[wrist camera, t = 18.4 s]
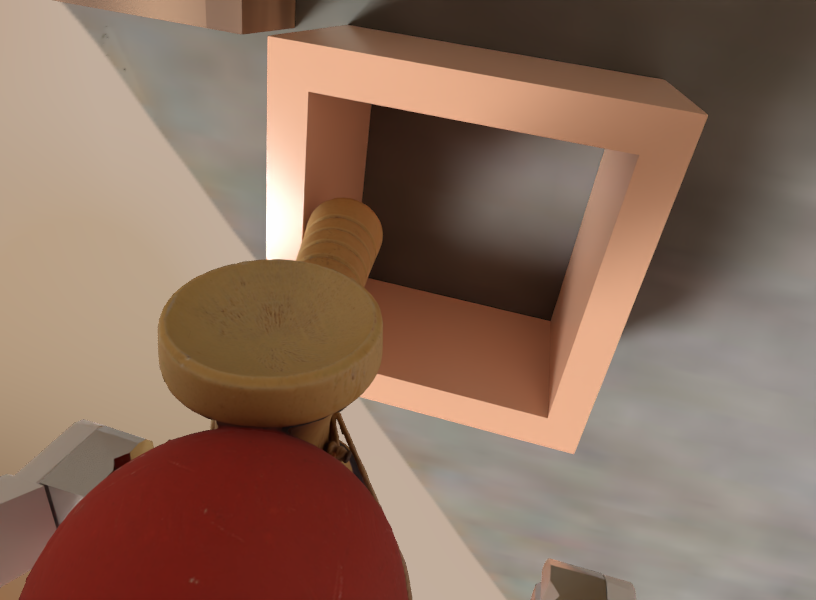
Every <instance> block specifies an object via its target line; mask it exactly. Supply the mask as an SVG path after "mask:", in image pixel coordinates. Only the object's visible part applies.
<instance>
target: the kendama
mask: <svg viewBox="0 0 816 600" xmlns="http://www.w3.org/2000/svg"><path fill="white" fill-rule="evenodd" d="M382 240H383V231H382V226H381V223H380V221H379V219H378V217H377V216H376V215H375V213H374V212H373V211H372V210H371V209H370V208H369V207H368V206H367V205H365V204H363V203H361V202H359V201H358V200H355V199H351V198H334V199H331V200H328V201H325V202H323V203H321V204H320V205H319V206H318V207H317V208H315V210H314V211H313V212H312V214H311V216H310V218H309V220H308V223H307V227H306V230H305V234H304V238H303V241H302V244H301V247H300V250H299V252H298V255H297V258H296V261H294V260H284V259H272V260H255V261H246V262H241V263H237V264H231V265H227V266H223V267H221V268H217V269H214V270H211V271H209V272H207V273H205V274H203V275H200V276H198V277H196V278H194V279H192V280H191V281H189V282H188V283H186V284H185V285H184V286H182V287H181V288H180V289H178V290H177V292H175V293H174V294H173V295H172V297H171V298H170V299H169V300H168V302H167V304H166V305H165V306H164V308H163V311H162V313H161V316H160V318H159V324H158V354H159V364H160V369H161V372H162V376H163V379H164V382H166V384H167V386H168V388H169V390H170V391H171V393H172V394H173V395H174V396H175V397H176V398H177V399H178V400H179V401H180V402H181V403H182V404H184V405H185V406H186V407H187V408H189V409H191V410H192V411H194V412H196V413H198V414H200V415H202V416H204V417H206V418H208V419H211V425H210V430H206V431H202V432H198V433H194V434H190V435H186V436H183V437H180V438H176V439H173V440H169V441H167V442H166V443H164V444H162V445H159V446H157V447H155V448H153V449H150V450H149V451H147V452H145V453H143V454H141V455H139V456H137V457H136V458H134V459H132V460H131V461H129V462H127V463H126V464H124V465H123V466H121V467H120V468H118V469H117V470H115V471H114V472H113V473H112V474H110V475H109V476H108V477H106V478H105V479H104V480H103V481H101V482H100V483H99V484H98V485H97V486H96V487H95V488H93V489H92V490H91V491H90V492H89V493H88V494H87V495H86V496H85V497H84V498H83V499H82V500H81V501H80V502H79V503H78V504H77V505H76V506H75V507H74V508H73V509H72V510H71V511H70V512H69V514H68V515H67V516H66V518H65V519H64V520H63V522H62V523H61V524H60V525H59V527H58V528H57V530H56V531H55V532H54V534H53V535H52V536H51V538H50V539H49V541H48V542H47V544H46V546H45V548H44V549H43V551H42V552H41V554H40V556H39V557H38V559H37V561H36V562H35V564H34V566H33V568H32V570H31V572H30V574H29V575H28V577H27V578H26V583H25V586H24V588H23V590H22V593H21V595H20V597H19V600H412V593H411V587H410V581H409V575H408V571H407V566H406V562H405V560H404V558H403V555H402V553H401V551H400V549H399V546H398V544H397V541H396V539H395V537H394V534H393V532H392V528H391V526H390V524H389V523H388V521H387V519H386V517H385V515H384V512H383V510H382V507H381V506H380V504H379V502H378V499H377V497H376V494H375V492H374V490H373V488H372V485H371V483H370V481H369V478H368V475H367V473H366V470H365V468H364V466H363V464H362V462H361V460H360V458H359V456H358V454H357V451H356V448H355V446H354V444H353V441H352V439H351V437H350V434H349V433H348V431H347V428H346V426H345V423H344V421H343V419H342V416H341V414H340V413H339V412H340V411H342V410H343V409H344V408H346V407H347V406H348V405H349V404H351V403H352V402H353V401H355V400H356V399H357V398H358V397H359V396H361V395H362V394H363V393H364V392H365V390H366V389H367V388H368V387H369V386H370V384H371V383H372V382H373V380H374V378H375V377H376V375H377V372H378V370H379V369H380V365H381V360H382V354H383V320H382V315H381V310H380V307H379V305H378V303H377V302H376V301H375V299H374V298H373V296H372V295H371V294H370V293H369V292H368V291H367V290H366V289H365V288H364V286H365V284H366V281H367V279H368V276H369V273H370V271H371V269H372V266H373V263H374V261H375V259H376V257H377V255H378V253H379V250H380V247H381V244H382ZM336 419H337V420H338V423H339V425H340V429H341V432H342V434H344V436H345V439H346V441H347V443H348V446H349V447H348V446H347V445H346V444H344V443H343V442H342V441H340V440H339V436H338V431H337V427H336Z"/></svg>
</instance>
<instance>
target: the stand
mask: <svg viewBox="0 0 816 600" xmlns="http://www.w3.org/2000/svg"><path fill="white" fill-rule="evenodd" d="M371 104H375V105H381V106H386V107H391V108H396V109H401V110H407V111H412V112H417V113H422V114H427V115H433V116H438V117H443V118H448V119H453V120H459V121H464V122H469V123H474V124H479V125H485V126H490V127H495V128H500V129H505V130H511V131H516V132H521V133H526V134H531V135H537V136H542V137H547V138H552V139H558V140H563V141H568V142H573V143H578V144H584V145H589V146H594V147H599V148H604V149H605V150H604V153H603V156H602V159H601V162H600V166H599V169H598V172H597V175H596V178H595V182H594V185H593V188H592V191H591V194H590V197H589V201H588V204H587V207H586V210H585V213H584V217H583V220H582V223H581V226H580V229H579V232H578V236H577V239H576V242H575V245H574V248H573V252H572V255H571V258H570V261H569V264H568V267H567V271H566V274H565V277H564V280H563V283H562V286H561V290H560V293H559V296H558V299H557V302H556V306H555V309H554V312H553V315H552V318H551V321H547V320H543V319H539V318H535V317H531V316H526V315H522V314H518V313H514V312H510V311H505V310H501V309H497V308H493V307H488V306H484V305H480V304H476V303H472V302H467V301H463V300H459V299H455V298H450V297H446V296H442V295H438V294H434V293H429V292H425V291H421V290H417V289H412V288H408V287H404V286H400V285H396V284H391V283H387V282H383V281H379V280H374V279H370V278H368V279H367V281H366V284H365V286H364V288H365V289H366V290H367V291H368V292H369V293H370V294H371V295H372V296H373V298H374V299H375V301H376V302H377V303H378V305H379V307H380V310H381V315H382V320H383V354H382V360H381V365H380V369H379V370H378V372H377V375H376V377H375V378H374V380H373V382H372V383H371V384H370V386H369V387H368V388H367V389H366V390H365V392H364V393H363V394H362V395H361V396H359V397H363V398H366V399H370V400H374V401H377V402H381V403H385V404H389V405H392V406H396V407H400V408H404V409H407V410H411V411H415V412H418V413H422V414H426V415H430V416H433V417H437V418H441V419H445V420H448V421H452V422H456V423H460V424H463V425H467V426H471V427H474V428H478V429H482V430H486V431H489V432H493V433H497V434H501V435H504V436H508V437H512V438H516V439H519V440H523V441H527V442H530V443H534V444H538V445H542V446H545V447H549V448H553V449H557V450H560V451H564V452H568V453H571V454H574V453H575V450H576V448H577V445H578V443H579V440H580V438H581V435H582V433H583V430H584V428H585V425H586V423H587V420H588V417H589V415H590V412H591V410H592V407H593V405H594V402H595V400H596V397H597V395H598V392H599V390H600V387H601V385H602V382H603V380H604V377H605V375H606V372H607V370H608V367H609V365H610V362H611V360H612V357H613V354H614V352H615V349H616V347H617V344H618V342H619V339H620V337H621V334H622V332H623V329H624V327H625V324H626V322H627V319H628V317H629V314H630V312H631V309H632V307H633V304H634V302H635V299H636V296H637V294H638V291H639V289H640V286H641V284H642V281H643V279H644V276H645V274H646V271H647V269H648V266H649V264H650V261H651V259H652V256H653V254H654V251H655V249H656V246H657V244H658V241H659V239H660V236H661V233H662V231H663V228H664V226H665V223H666V221H667V218H668V216H669V213H670V211H671V208H672V206H673V203H674V201H675V198H676V196H677V193H678V191H679V188H680V186H681V183H682V181H683V178H684V176H685V173H686V170H687V168H688V165H689V163H690V160H691V158H692V155H693V153H694V150H695V148H696V145H697V143H698V140H699V138H700V135H701V133H702V130H703V128H704V125H705V123H706V120H707V118H708V114H706V113H705V112H704V111H703V110H702V109H700V108H699V107H698V106H697V105H695V104H694V103H693V102H692V101H690V100H689V99H688V98H687V97H686V96H684V95H683V94H682V93H681V92H679V91H678V90H677V89H676V88H675V87H673V86H672V85H671V84H670V83H668V82H667V81H666V80H663V79H657V78H652V77H646V76H640V75H634V74H629V73H623V72H617V71H611V70H605V69H600V68H594V67H588V66H582V65H577V64H571V63H565V62H559V61H553V60H548V59H542V58H536V57H530V56H525V55H519V54H513V53H507V52H501V51H496V50H490V49H484V48H478V47H473V46H467V45H461V44H455V43H449V42H444V41H438V40H432V39H426V38H421V37H415V36H409V35H403V34H397V33H392V32H386V31H380V30H374V29H368V28H363V27H357V26H351V25H342V26H335V27H328V28H320V29H313V30H306V31H299V32H292V33H285V34H278V35H271V36H268V52H267V208H266V260H272V259H284V260H294V261H296V258H297V255H298V252H299V250H300V247H301V244H302V241H303V238H304V234H305V230H306V227H307V223H308V220H309V218H310V216H311V214H312V212H313V211H314V210H315V208H317V207H318V206H319V205H320V204H321V203H323V202H325V201H328V200H331V199H334V198H351V199H355V200H358V201H359V202H361V203H362V196H363V185H364V175H365V165H366V155H367V144H368V134H369V124H370V114H371Z"/></svg>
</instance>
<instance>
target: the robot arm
mask: <svg viewBox="0 0 816 600" xmlns="http://www.w3.org/2000/svg"><path fill="white" fill-rule="evenodd" d="M153 448H154V447H153V442H152V441H150V440H147V439H144V438H141V437H138V436H135V435H132V434H129V433H125V432H123V431H119V430H116V429H113V428H110V427H107V426H104V425H101V424H98V423H95V422H91V421H88V420H84V419H83V420H80V421H78V422H75V423H73V424H72V425H71V426H70V427H69V428H68V429H66V430H65V431H64V432H63V433H62V434H61V435H60V436H59V437H57V438H56V439H55V440H54V441H53V442H52V443H50V444H49V445H48V446H47V447H46V448H45V449H44V450H42V451H41V452H40V453H39V454H38V455H37V456H36V457H34V458H33V459H32V460H31V461H30V462H29V463H28V464H26V465H25V466H24V467H23V468H22V469H21V470H20V471H18V472H17V473H16V474H15V475H14V476H13V475H9V474H5V475H3V476H0V587H2V586H4V585H6V584H7V583H9V582H11V581H12V580H14V579H16V578H18V577H19V576H21V575H23V574H24V573H26V572H28V571H30V570H31V569H32V568H33V566H34V564H35V562H36V561H37V559H38V557H39V556H40V554H41V552H42V551H43V549H44V548H45V546H46V544H47V542H48V541H49V539H50V538H51V536H52V535H53V534H54V532H55V531H56V530H57V528H58V527H59V525H60V524H61V523H62V522H63V520H64V519H65V518H66V516H67V515H68V514H69V512H70V511H71V510H72V509H73V508H74V507H75V506H76V505H77V504H78V503H79V502H80V501H81V500H82V499H83V498H84V497H85V496H86V495H87V494H88V493H89V492H90V491H91V490H92V489H93V488H95V487H96V486H97V485H98V484H99V483H100V482H101V481H103V480H104V479H105V478H106V477H108V476H109V475H110V474H112V473H113V472H114V471H115V470H117V469H118V468H120V467H121V466H123V465H124V464H126V463H127V462H129V461H131V460H132V459H134V458H136V457H137V456H139V455H141V454H143V453H145V452H147V451H149V450H150V449H153ZM531 600H636V593H635V588H634V586H633V584H632V583H630V582H627V581H624V580H620V579H617V578H613V577H610V576H607V575H602V574H601V573H599V572H595V571H592V570H588V569H585V568H581V567H578V566H574V565H571V564H567V563H564V562H560V561H557V560H553V559H549V558H548V559H547V560H546V561H545V563H544V566H543V568H542V576H541V582H540V583H537V584H536V585H535V587H534V590H533V593H532V596H531Z"/></svg>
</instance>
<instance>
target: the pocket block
mask: <svg viewBox="0 0 816 600" xmlns="http://www.w3.org/2000/svg"><path fill="white" fill-rule="evenodd" d="M55 1H60V2H65V3H71V4H76V5H82V6H88V7H93V8H99V9H104V10H110V11H115V12H121V13H126V14H132V15H137V16H143V17H148V18H154V19H160V20H165V21H171V22H176V23H182V24H187V25H193V26H198V27H204V28H209V29H215V30H221V31H226V32H232V33H237V34H249V33H257V32H265V31H273V30H281V29H289V28H295V1H296V0H55Z"/></svg>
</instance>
